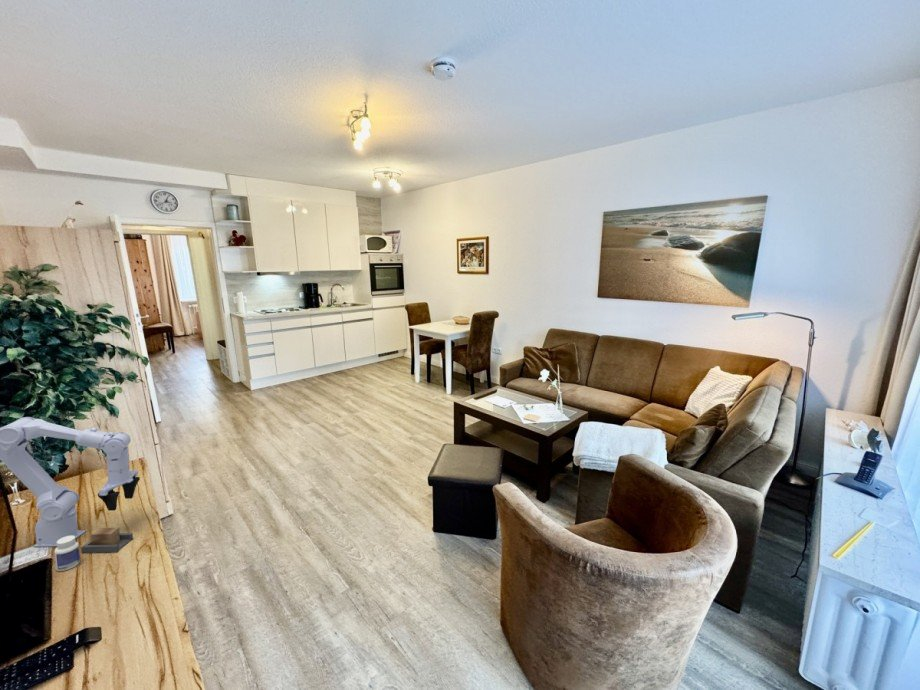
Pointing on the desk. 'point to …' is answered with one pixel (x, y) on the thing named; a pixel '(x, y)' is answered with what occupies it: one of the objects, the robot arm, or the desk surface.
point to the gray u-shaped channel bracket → (123, 541)
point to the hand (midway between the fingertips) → (120, 503)
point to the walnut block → (105, 536)
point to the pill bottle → (67, 553)
